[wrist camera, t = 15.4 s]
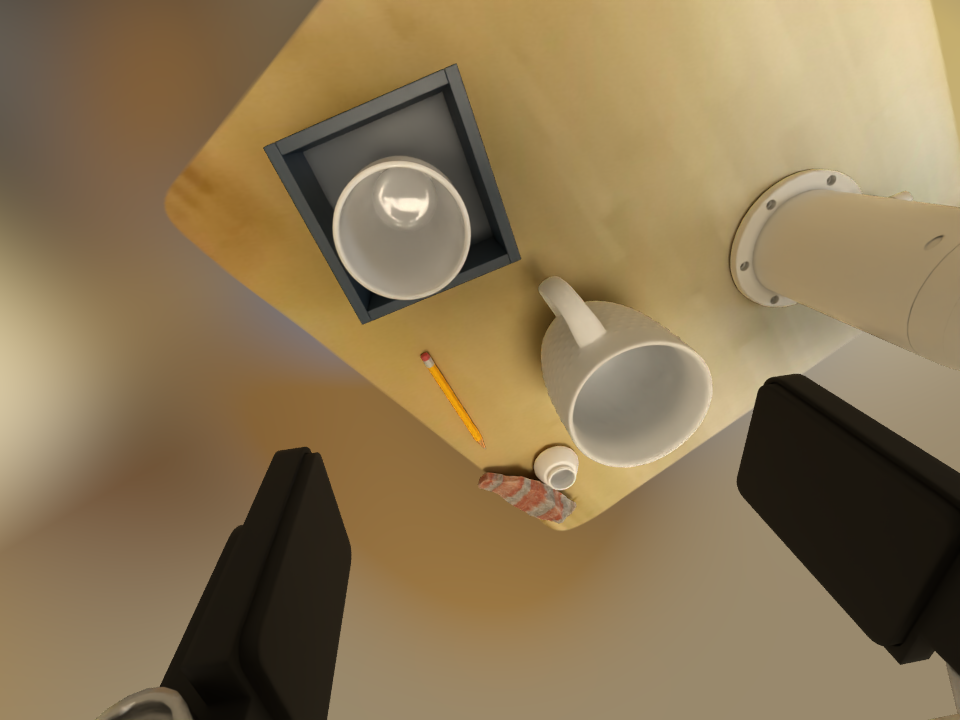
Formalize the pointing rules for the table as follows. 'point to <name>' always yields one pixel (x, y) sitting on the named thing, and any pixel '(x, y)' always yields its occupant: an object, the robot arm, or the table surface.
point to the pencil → (452, 398)
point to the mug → (620, 379)
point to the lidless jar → (557, 467)
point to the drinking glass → (401, 228)
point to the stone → (529, 496)
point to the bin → (387, 132)
